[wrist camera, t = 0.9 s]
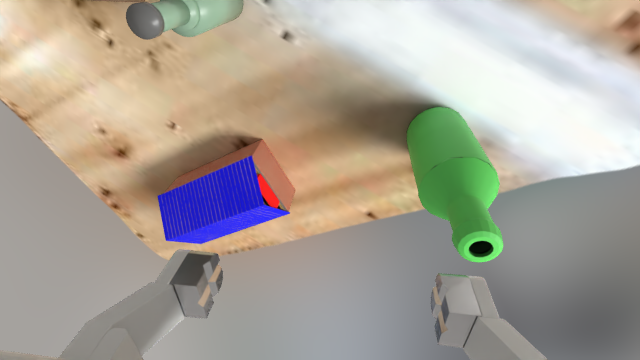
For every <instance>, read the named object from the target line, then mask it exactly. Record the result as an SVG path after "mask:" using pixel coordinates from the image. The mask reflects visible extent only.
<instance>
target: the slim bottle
mask: <svg viewBox="0 0 640 360" xmlns="http://www.w3.org/2000/svg"><path fill="white" fill-rule="evenodd" d="M242 9H243V0H160V2H155V3H147V2H140V3H135V4H132V5H130V6H129V7H128V9H127V12H126V19H127V23H128V25H129V27H130V29H131V30H132V31H133V33H134V34H136V35H137V36H138V37H140V38H142V39H152V38H155V37H158V36H160V35H161V34H162V33H163V32H165V31H168V30H171V29H172V30H173V31H174V32H176V33H177V34H179V35H182V36H185V37H193V36H196V35H199V34H201V33H203V32H206V31H208V30H211V29H213V28H215V27H218V26H220V25H222V24H225V23H227V22H229V21H232V20H234V19H236V18H237V17H238V16H239V15H240V14H241V12H242Z"/></svg>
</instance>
